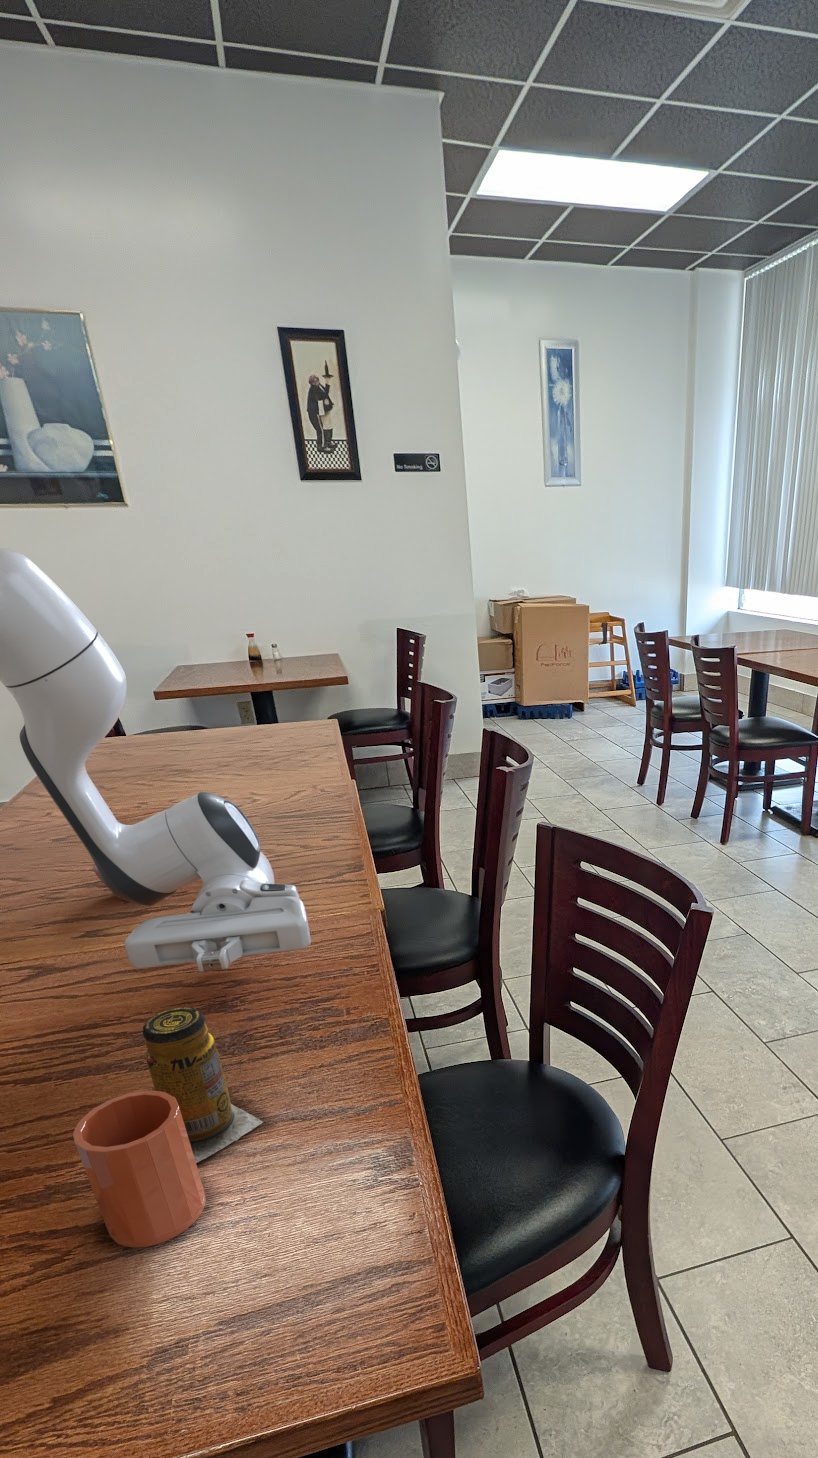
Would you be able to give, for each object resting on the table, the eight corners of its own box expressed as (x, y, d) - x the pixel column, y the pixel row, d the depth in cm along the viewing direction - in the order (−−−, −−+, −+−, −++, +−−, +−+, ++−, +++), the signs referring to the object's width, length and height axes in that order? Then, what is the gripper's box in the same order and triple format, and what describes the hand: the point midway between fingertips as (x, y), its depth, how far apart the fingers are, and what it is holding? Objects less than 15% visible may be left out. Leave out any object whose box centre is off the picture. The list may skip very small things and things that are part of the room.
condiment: (213, 1094, 85) (186, 994, 80) (263, 1123, 80) (238, 1019, 75) (147, 1133, 80) (112, 1028, 74) (196, 1166, 75) (163, 1057, 70)
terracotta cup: (97, 1255, 66) (59, 1158, 61) (122, 1190, 73) (89, 1098, 68) (197, 1237, 67) (167, 1141, 63) (212, 1175, 74) (186, 1084, 70)
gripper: (134, 901, 100) (102, 951, 87) (308, 883, 103) (300, 928, 91) (147, 948, 102) (118, 1002, 90) (316, 928, 106) (310, 978, 94)
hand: (211, 965), depth 91 cm, fingers closed
